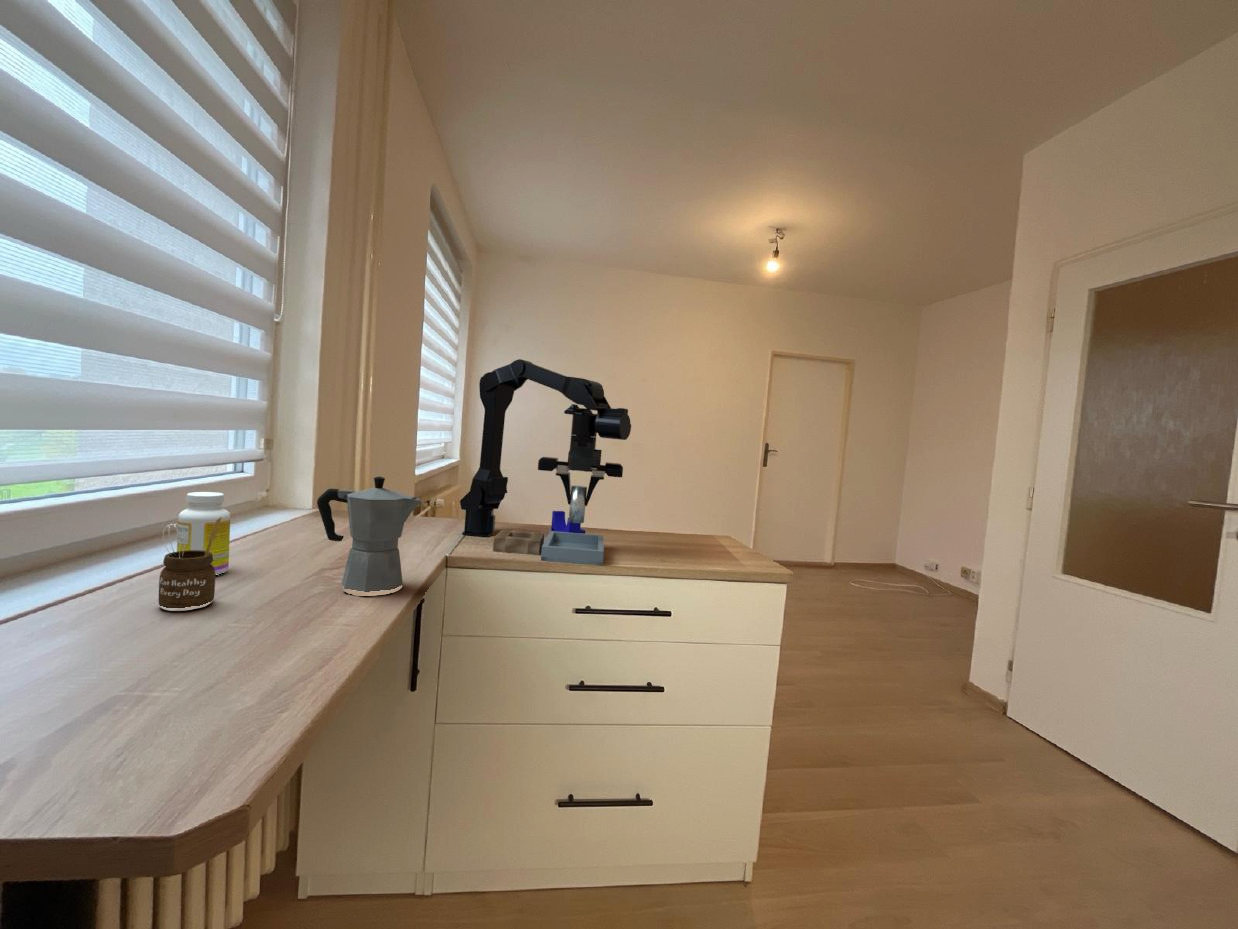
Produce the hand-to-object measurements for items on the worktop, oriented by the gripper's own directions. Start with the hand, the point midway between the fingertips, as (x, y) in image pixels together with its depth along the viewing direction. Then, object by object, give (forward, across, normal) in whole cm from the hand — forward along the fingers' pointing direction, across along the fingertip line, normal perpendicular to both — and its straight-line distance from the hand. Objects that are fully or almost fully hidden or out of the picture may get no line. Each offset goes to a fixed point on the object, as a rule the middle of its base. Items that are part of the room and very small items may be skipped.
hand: (577, 505), depth 124 cm
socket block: (+11, -12, +1) cm, 17 cm away
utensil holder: (+11, -49, -49) cm, 71 cm away
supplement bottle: (+11, -57, -35) cm, 68 cm away
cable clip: (+12, -2, +19) cm, 22 cm away
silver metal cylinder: (+4, 0, 0) cm, 4 cm away
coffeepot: (+11, -31, -36) cm, 49 cm away
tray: (+11, 0, 0) cm, 11 cm away
